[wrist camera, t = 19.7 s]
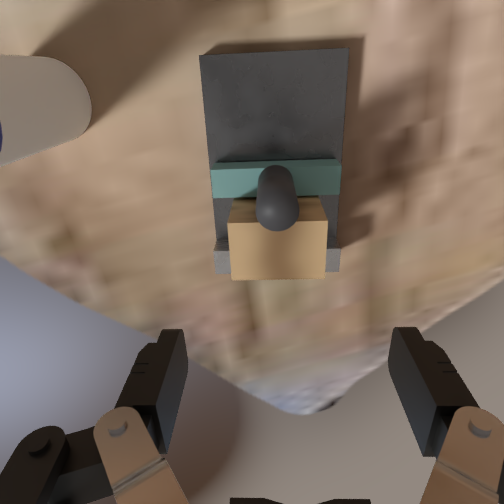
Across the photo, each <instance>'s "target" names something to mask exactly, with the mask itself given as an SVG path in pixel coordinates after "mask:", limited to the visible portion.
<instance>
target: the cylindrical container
mask: <svg viewBox="0 0 504 504" xmlns="http://www.w3.org/2000/svg"><path fill="white" fill-rule="evenodd" d="M91 114H92V105H91V100H90V96H89V93H88V90H87V88H86V86H85V84H84V83H83V81H82V80H81V78H80V77H79V76H78V74H77V73H76V72H75V71H74V70H73V69H72V68H70V67H69V66H67V65H66V64H65V63H63V62H61V61H59V60H57V59H54V58H50V57H43V56H20V55H0V167H2V166H4V165H7V164H10V163H12V162H15V161H18V160H20V159H23V158H26V157H28V156H31V155H34V154H37V153H39V152H42V151H45V150H47V149H50V148H53V147H55V146H58V145H61V144H63V143H66V142H69V141H71V140H74V139H76V138H78V137H79V136H80V135H82V134H83V133H84V131H85V130H86V129H87V127H88V125H89V123H90V119H91Z"/></svg>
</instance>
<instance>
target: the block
mask: <svg viewBox="0 0 504 504" xmlns="http://www.w3.org/2000/svg"><path fill="white" fill-rule="evenodd" d="M256 199H257V197H237V198H234V199H233V203H232V207H231V211H230V215H229V219H228V222H227V226H228V239H229V251H230V264H231V276H232V280H276V279H325V266H326V248H327V230H328V219H327V217H326V214H325V212H324V209H323V207H322V204H321V201H320V199H319V196H318V195H307V196H297V199H298V204H299V210H300V211H299V217H298V219H297V221H296V222H295V224H294V225H293V226H291V227H290V228H289V229H286V230H284V231H271V230H268V229H266V228H264V227H263V226H262V225H261V224H260V223H259V221H258V220H257V217H256Z"/></svg>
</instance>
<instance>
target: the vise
mask: <svg viewBox="0 0 504 504" xmlns="http://www.w3.org/2000/svg"><path fill="white" fill-rule="evenodd" d="M348 58H349V48H335V49H315V50H295V51H276V52H256V53H236V54H216V55H199V61H200V71H201V82H202V92H203V102H204V113H205V123H206V134H207V144H208V155H209V165H210V170H211V168H212V166H213V164H214V163H228V162H258V161H287V160H317V159H337V160H338V161H339V163H340V164H341V161H342V146H343V132H344V117H345V102H346V88H347V73H348ZM210 175H211V172H210ZM211 186H212V182H211ZM212 196H213V193H212ZM318 196H319V199H320V201H321V204H322V207H323V209H324V212H325V214H326V217H327V219H328V230H327V248H326V266H325V272H339V265H340V252H341V248H340V245H339V243H338V240H337V238H336V234H337V220H338V205H339V195H318ZM233 199H234V198H213V207H214V217H215V227H216V238H217V241H216V244H215V248H214V251H213V252H214V262H215V272H216V274H231V264H230V251H229V239H228V226H227V222H228V219H229V215H230V211H231V207H232V203H233Z"/></svg>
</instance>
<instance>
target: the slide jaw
mask: <svg viewBox="0 0 504 504" xmlns="http://www.w3.org/2000/svg"><path fill="white" fill-rule="evenodd" d="M341 169H342V165H341V164H340V163H339V161H338V160H337V159H317V160H287V161H258V162H228V163H214V164H213V166H212V168H211V170H210V172H211V182H212V193H213V198H237V197H257V199H256V217H257V220H258V221H259V223H260V224H261V225H262V226H263V227H264V228H266V229H268V230H271V231H284V230H286V229H289V228H290V227H291V226H293V225H294V224H295V222H296V221H297V219H298V217H299V211H300V210H299V204H298V199H297V196H307V195H340V183H341Z"/></svg>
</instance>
